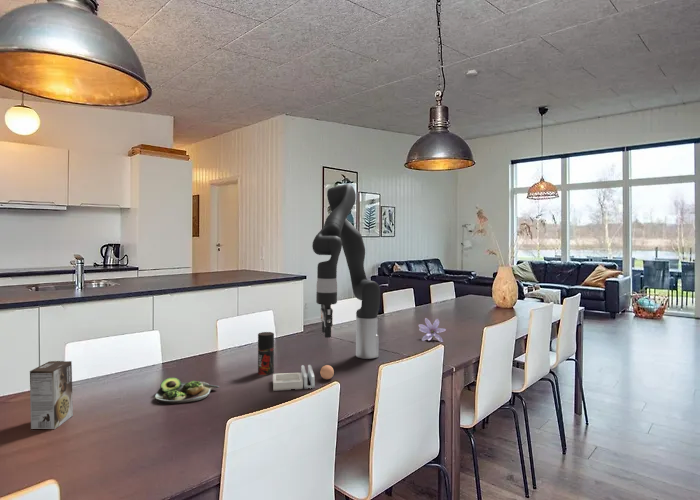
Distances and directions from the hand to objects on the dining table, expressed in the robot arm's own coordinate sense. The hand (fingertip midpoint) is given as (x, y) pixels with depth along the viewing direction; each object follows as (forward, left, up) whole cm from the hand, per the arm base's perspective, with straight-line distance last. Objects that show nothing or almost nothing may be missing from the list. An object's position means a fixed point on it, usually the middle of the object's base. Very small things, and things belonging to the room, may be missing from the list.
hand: (326, 334), depth 158 cm
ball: (0, 0, -16) cm, 16 cm away
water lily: (-60, -51, -17) cm, 81 cm away
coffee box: (+80, +24, -17) cm, 85 cm away
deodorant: (+22, -11, -17) cm, 29 cm away
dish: (+14, +4, -16) cm, 22 cm away
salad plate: (+49, +7, -17) cm, 52 cm away
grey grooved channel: (+7, +2, -16) cm, 18 cm away
